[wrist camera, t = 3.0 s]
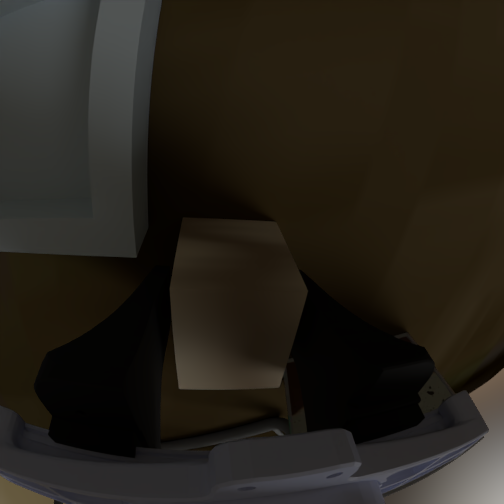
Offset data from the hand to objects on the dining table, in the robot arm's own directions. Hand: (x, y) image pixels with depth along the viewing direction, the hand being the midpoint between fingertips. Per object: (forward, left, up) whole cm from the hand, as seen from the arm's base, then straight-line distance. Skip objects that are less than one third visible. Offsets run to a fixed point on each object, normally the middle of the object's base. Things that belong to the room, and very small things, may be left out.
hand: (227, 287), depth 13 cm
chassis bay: (-9, +8, -1) cm, 12 cm away
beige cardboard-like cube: (0, 0, -2) cm, 2 cm away
